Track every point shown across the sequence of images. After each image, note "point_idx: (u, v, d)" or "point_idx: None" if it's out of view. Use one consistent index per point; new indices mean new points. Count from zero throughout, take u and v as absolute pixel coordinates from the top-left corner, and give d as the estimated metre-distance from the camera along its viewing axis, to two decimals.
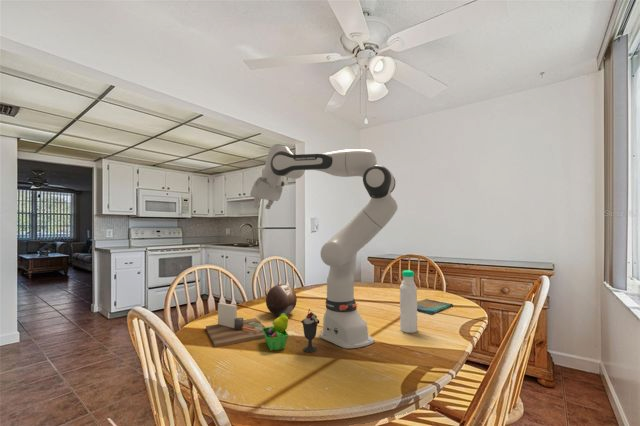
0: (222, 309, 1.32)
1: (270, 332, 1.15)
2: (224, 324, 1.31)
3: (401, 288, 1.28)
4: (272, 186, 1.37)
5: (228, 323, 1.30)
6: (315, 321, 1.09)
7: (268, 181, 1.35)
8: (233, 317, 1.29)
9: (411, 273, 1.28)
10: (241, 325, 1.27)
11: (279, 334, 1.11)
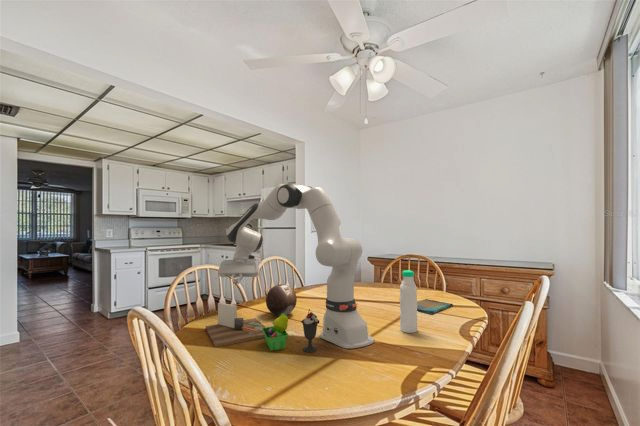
0: (222, 309, 1.32)
1: (270, 332, 1.15)
2: (224, 324, 1.31)
3: (401, 288, 1.28)
4: (236, 261, 1.56)
5: (228, 323, 1.30)
6: (315, 321, 1.09)
7: None
8: (233, 317, 1.29)
9: (411, 273, 1.28)
10: (241, 325, 1.27)
11: (279, 334, 1.11)
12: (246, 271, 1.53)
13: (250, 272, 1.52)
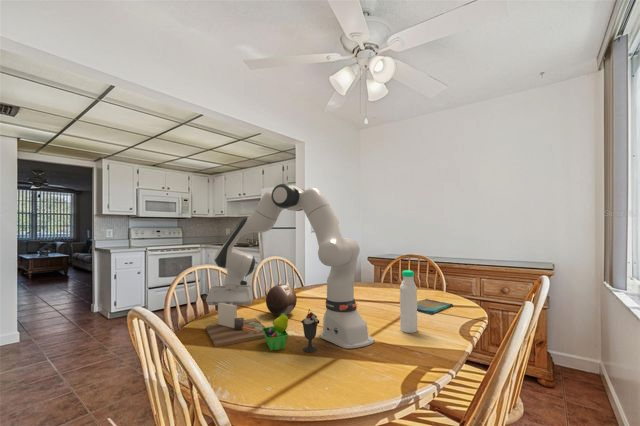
0: (222, 309, 1.32)
1: (270, 332, 1.15)
2: (224, 324, 1.31)
3: (401, 288, 1.28)
4: (227, 287, 1.41)
5: (228, 323, 1.30)
6: (315, 321, 1.09)
7: None
8: (233, 317, 1.29)
9: (411, 273, 1.28)
10: (241, 325, 1.27)
11: (279, 334, 1.11)
12: (237, 299, 1.37)
13: (242, 300, 1.37)
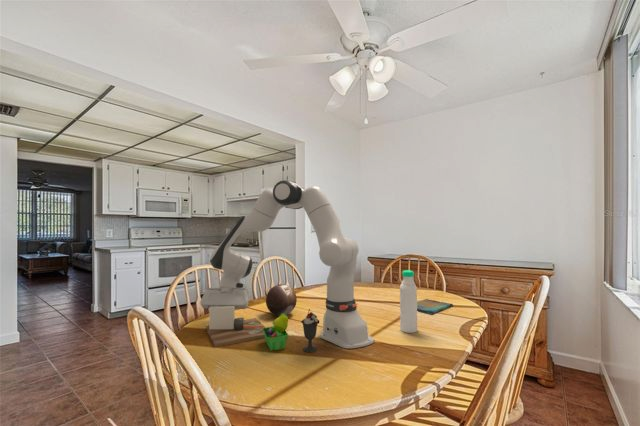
0: (217, 313, 1.27)
1: (270, 332, 1.15)
2: (219, 328, 1.27)
3: (401, 288, 1.28)
4: (222, 290, 1.35)
5: (225, 325, 1.27)
6: (315, 321, 1.09)
7: (218, 288, 1.37)
8: (232, 318, 1.27)
9: (411, 273, 1.28)
10: None
11: (279, 334, 1.11)
12: (233, 303, 1.31)
13: (237, 304, 1.31)
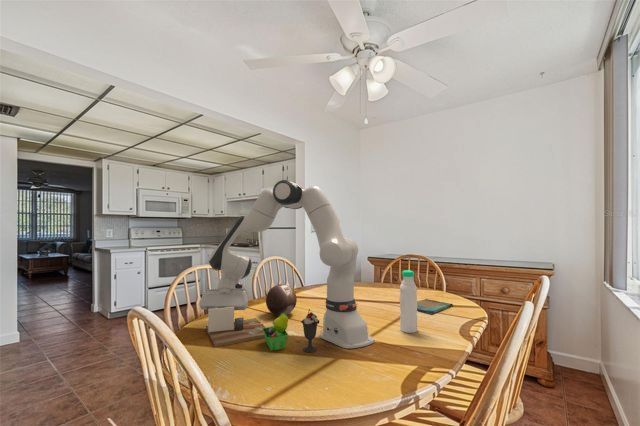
0: (216, 314, 1.25)
1: (270, 332, 1.15)
2: (218, 329, 1.25)
3: (401, 288, 1.28)
4: (221, 291, 1.33)
5: (225, 326, 1.25)
6: (315, 321, 1.09)
7: (216, 289, 1.35)
8: (232, 319, 1.26)
9: (411, 273, 1.28)
10: None
11: (279, 334, 1.11)
12: (232, 304, 1.30)
13: (236, 305, 1.30)
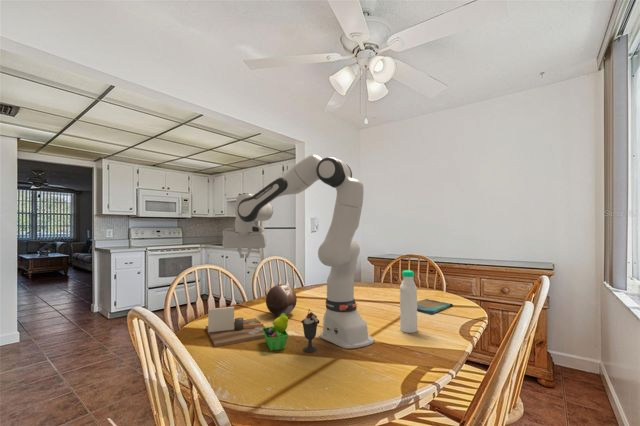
0: (216, 314, 1.25)
1: (270, 332, 1.15)
2: (218, 329, 1.25)
3: (401, 288, 1.28)
4: (240, 234, 1.41)
5: (225, 326, 1.25)
6: (315, 321, 1.09)
7: (235, 230, 1.42)
8: (232, 319, 1.26)
9: (411, 273, 1.28)
10: None
11: (279, 334, 1.11)
12: (253, 246, 1.42)
13: (257, 247, 1.42)
